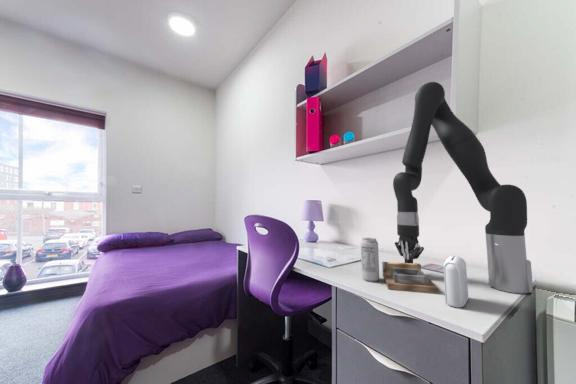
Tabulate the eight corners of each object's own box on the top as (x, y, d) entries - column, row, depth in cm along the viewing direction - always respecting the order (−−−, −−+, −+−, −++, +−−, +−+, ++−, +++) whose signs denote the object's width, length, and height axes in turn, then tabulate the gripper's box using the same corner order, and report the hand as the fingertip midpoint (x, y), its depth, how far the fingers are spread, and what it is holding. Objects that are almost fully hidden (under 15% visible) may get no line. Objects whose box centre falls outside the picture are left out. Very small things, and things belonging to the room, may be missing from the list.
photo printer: (451, 294, 68) (449, 252, 69) (470, 298, 65) (467, 254, 65) (443, 305, 60) (440, 258, 61) (463, 310, 57) (460, 260, 58)
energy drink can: (382, 280, 81) (380, 238, 83) (374, 284, 77) (372, 239, 78) (366, 276, 86) (365, 236, 87) (358, 280, 82) (357, 238, 83)
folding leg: (383, 277, 84) (382, 262, 85) (382, 275, 86) (381, 261, 87) (421, 278, 82) (420, 264, 82) (419, 277, 84) (418, 263, 84)
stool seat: (425, 281, 80) (425, 268, 80) (438, 294, 68) (438, 279, 68) (383, 278, 84) (382, 265, 84) (388, 290, 72) (387, 275, 72)
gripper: (388, 222, 93) (389, 265, 92) (412, 225, 81) (414, 274, 79) (403, 222, 95) (404, 264, 94) (430, 224, 82) (431, 273, 81)
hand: (409, 269), depth 87 cm, fingers closed
